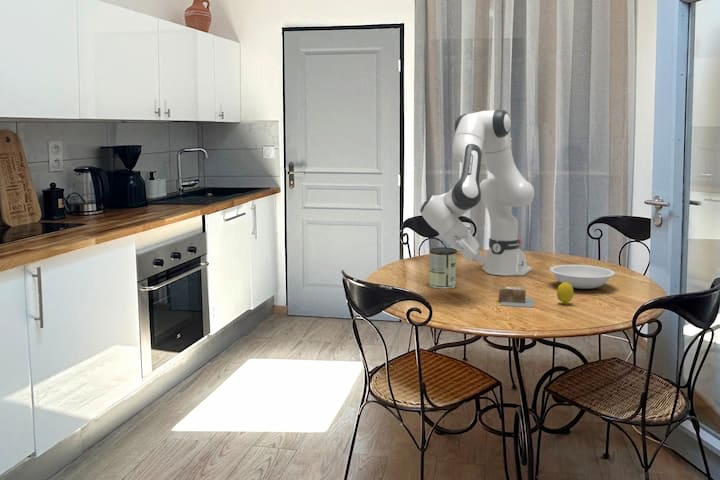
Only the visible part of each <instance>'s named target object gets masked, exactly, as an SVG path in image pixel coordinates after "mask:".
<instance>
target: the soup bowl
mask: <svg viewBox="0 0 720 480" xmlns="http://www.w3.org/2000/svg"><path fill="white" fill-rule="evenodd" d="M549 272H551V273H552V274H553V275H554V278H555V279H556V280H557V281H558V282H560V284H562V283H564V282H567V283H569V284H570V285H571V286H572V288H573V289H581V290H582V289H583V290H584V289H585V290H586V289H587V290H588V289H597V288H599V287H601V286H603V285H605V284H606V283H607V282H608V281H609V280H610V279H611V278H612V277H614V276H616V271H614V270H612V269H609V268H607V267H601V266H595V265H588V264H560V265H559V264H558V265H553V266H551V267H549Z"/></svg>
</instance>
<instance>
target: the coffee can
mask: <svg viewBox="0 0 720 480" xmlns="http://www.w3.org/2000/svg"><path fill="white" fill-rule="evenodd" d="M457 251H458V250H457V248H452V247H443V246H442V247H441V246H440V247H432V248H429V284H428V286H429V287H430V288H434V289H443V290H444V289H445V290H447V289H454V288H455V287H456V286H457Z"/></svg>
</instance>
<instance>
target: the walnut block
mask: <svg viewBox="0 0 720 480" xmlns="http://www.w3.org/2000/svg"><path fill="white" fill-rule="evenodd" d="M526 291H527V290H526V287H524V286H523V287H522V286H521V287H520V286H504V285H503V286H501V285H499V287H498V302H499V303H501V302H516V303H525V297H526V295H527V293H526Z"/></svg>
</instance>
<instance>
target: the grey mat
mask: <svg viewBox="0 0 720 480" xmlns="http://www.w3.org/2000/svg"><path fill="white" fill-rule="evenodd" d="M499 306H501V307H502V306H503V307H518V308H519V307H521V308H534V297H532V296H531V297H530V296H525V303H516V302H500V305H499Z"/></svg>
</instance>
